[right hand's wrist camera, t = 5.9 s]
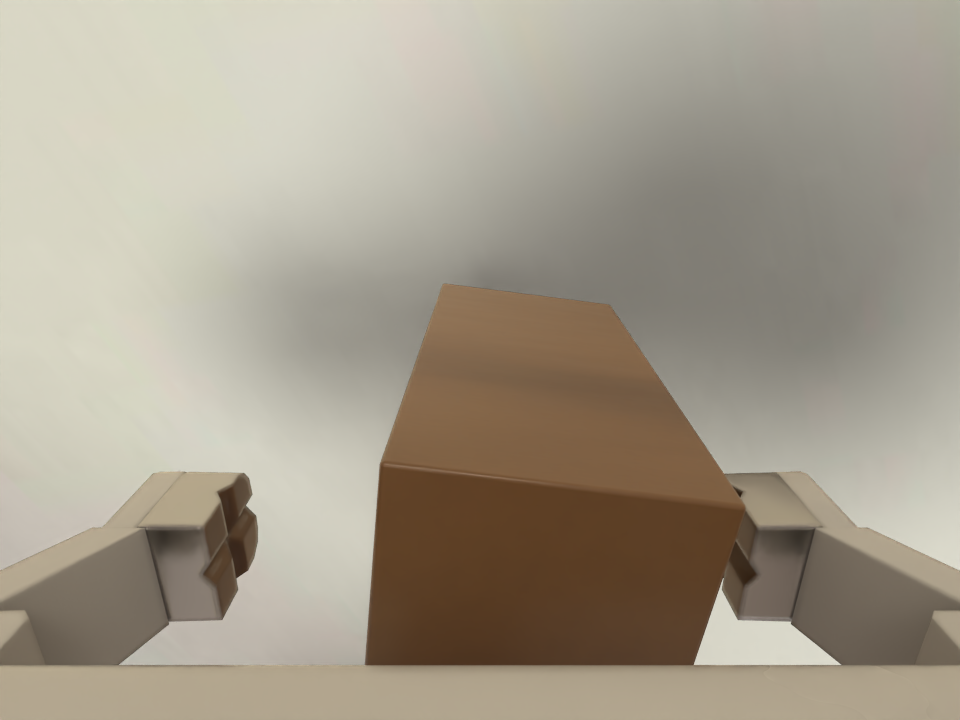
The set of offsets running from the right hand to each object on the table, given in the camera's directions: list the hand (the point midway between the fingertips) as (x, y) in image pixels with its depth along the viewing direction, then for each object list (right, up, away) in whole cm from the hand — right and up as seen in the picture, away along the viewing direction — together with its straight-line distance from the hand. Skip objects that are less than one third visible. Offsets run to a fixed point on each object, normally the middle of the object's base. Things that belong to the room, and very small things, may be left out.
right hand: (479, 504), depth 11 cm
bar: (0, -8, +10) cm, 13 cm away
